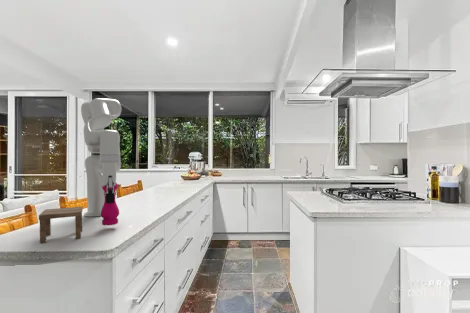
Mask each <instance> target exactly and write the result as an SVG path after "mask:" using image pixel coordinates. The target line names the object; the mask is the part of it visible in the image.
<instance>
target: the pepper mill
mask: <svg viewBox="0 0 470 313" xmlns="http://www.w3.org/2000/svg"><path fill="white" fill-rule="evenodd" d="M108 180H109V177H108ZM108 186H109V185H108ZM112 186H113V185H112ZM102 189H103V190H104V196H105V202H104V205H103V208H102V210H101V216H100V217H101V218H102V219H101V224H102V225H103V226H115V225H117V224H119V218H118V217H119V215H120V209H119V206H118V204H117V202H116V196H117V191H116V190H118V183H117V182H116V185H115V186H114V201H115V202H114V203H106V194H107V185H105V187H104V186H103V185H102Z"/></svg>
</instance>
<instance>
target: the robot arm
mask: <svg viewBox="0 0 470 313" xmlns="http://www.w3.org/2000/svg"><path fill="white" fill-rule="evenodd" d="M80 113H81V117H82V120H83V123H84V126H83V140H84V143H85V145H86V146H87V151H88V152H89V153H92V154H94V155H89V156H87V157H86V158H85V160H84V166H85V173H86V195H87V196H86V199H87V201H86V202H87V206H86V208H87V210H86V211H87V212H84V213H83V216H85V217H88V218H89V217H92V218H93V217H95V218H96V217H101V210H102V208H103V205H104V202H105V196H104V190H103V189H102V185H103V186H104V187H105V185H107V194H106V203H114V202H115V201H116V200H115V201H114V186H115V185H116V183H117V173H118V172H119V171H120V170H121V168H122V167H121V166H122V162H121V161H122V160H121V159H122V158H121V147H120V142H121V136H120V133H119V131H118V130H114V129H105V128H107V127H109V126H110V125H111V124H112V120H115V119H118V117H120V116H121V113H122V104H121V103H120V102H119V100H117V99H113V98H103V97H101V98H100V97H98V98H97V97H96V98H93V99H92V100H91V101H87V102H84V103H82V104H81V106H80ZM108 177H109V180H108ZM108 185H109V186H108ZM112 185H113V186H112Z"/></svg>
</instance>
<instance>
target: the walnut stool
mask: <svg viewBox="0 0 470 313" xmlns="http://www.w3.org/2000/svg"><path fill="white" fill-rule="evenodd" d="M61 218H63V219H64V218H74V219H75V228H74V229H75V240H80V239H81V238H82V237H81V235H82V234H81V233H82V232H83V206H72V207H71V206H70V207H63V208H62V207H61V208H50V209H49V208H47V209H44V210H43V211H42V212H41V213H40V214H39V215H38V220H39V244H46V243H47V236H51V234H52V233H51V230H52V229H51V228H52V226H51V223H52V222H51V220H52V219H61Z"/></svg>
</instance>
